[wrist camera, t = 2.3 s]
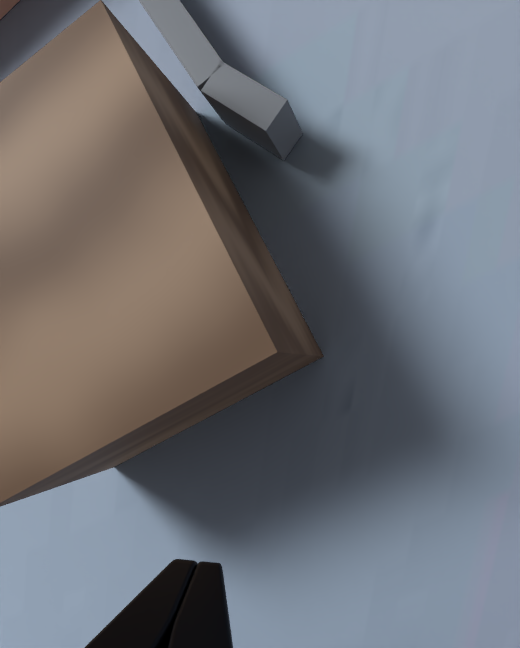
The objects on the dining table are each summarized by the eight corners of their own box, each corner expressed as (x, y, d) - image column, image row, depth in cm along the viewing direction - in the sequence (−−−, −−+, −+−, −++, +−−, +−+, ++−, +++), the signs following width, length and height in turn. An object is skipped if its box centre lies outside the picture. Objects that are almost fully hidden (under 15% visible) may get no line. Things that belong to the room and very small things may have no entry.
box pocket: (308, 141, 22) (281, 80, 17) (3, 375, 26) (-86, 377, 22) (116, -124, 27) (53, -229, 22) (-117, 110, 31) (-212, 64, 26)
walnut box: (324, 356, 21) (277, 352, 14) (116, 466, 24) (-19, 513, 17) (197, 113, 24) (100, 0, 17) (24, 235, 27) (-126, 185, 19)
